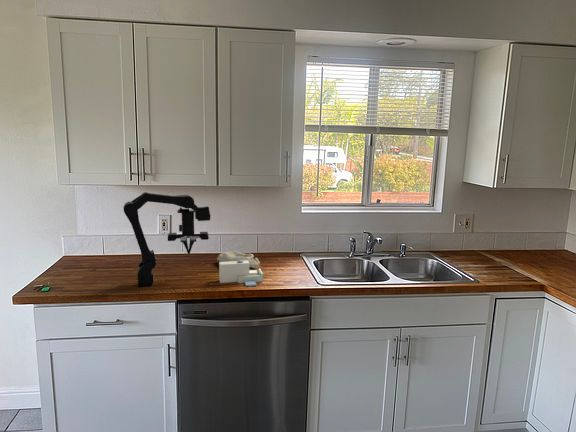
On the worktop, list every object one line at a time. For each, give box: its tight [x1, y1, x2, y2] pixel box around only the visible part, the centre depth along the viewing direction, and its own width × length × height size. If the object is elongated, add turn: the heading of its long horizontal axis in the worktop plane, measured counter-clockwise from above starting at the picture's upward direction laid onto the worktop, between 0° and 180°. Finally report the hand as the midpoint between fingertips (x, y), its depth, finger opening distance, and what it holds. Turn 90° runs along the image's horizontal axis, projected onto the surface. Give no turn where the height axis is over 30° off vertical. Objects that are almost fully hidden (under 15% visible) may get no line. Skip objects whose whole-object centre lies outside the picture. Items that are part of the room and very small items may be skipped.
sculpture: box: [216, 250, 261, 269], centre depth 227 cm, size 24×11×15 cm
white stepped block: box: [218, 260, 258, 284], centre depth 203 cm, size 18×4×10 cm, turn 103°
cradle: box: [237, 268, 264, 288], centre depth 205 cm, size 12×20×4 cm, turn 13°
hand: (188, 253), depth 201 cm, fingers closed
